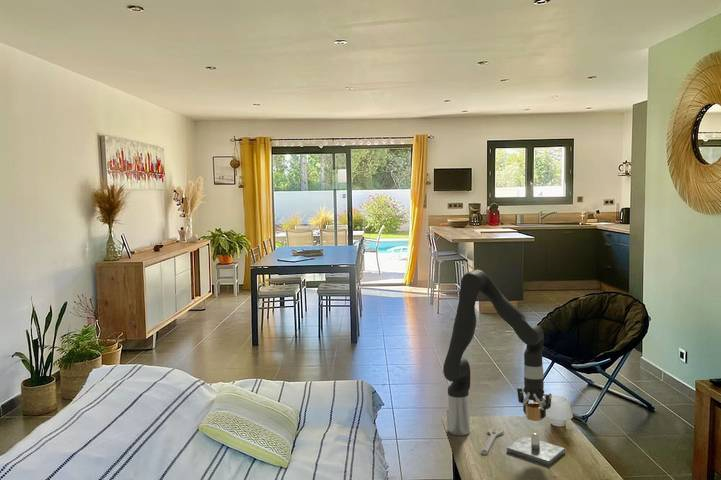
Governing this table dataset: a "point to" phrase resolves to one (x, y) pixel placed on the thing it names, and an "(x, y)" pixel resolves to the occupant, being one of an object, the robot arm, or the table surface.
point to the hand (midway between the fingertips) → (534, 415)
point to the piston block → (536, 450)
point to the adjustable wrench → (491, 439)
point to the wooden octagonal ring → (533, 411)
